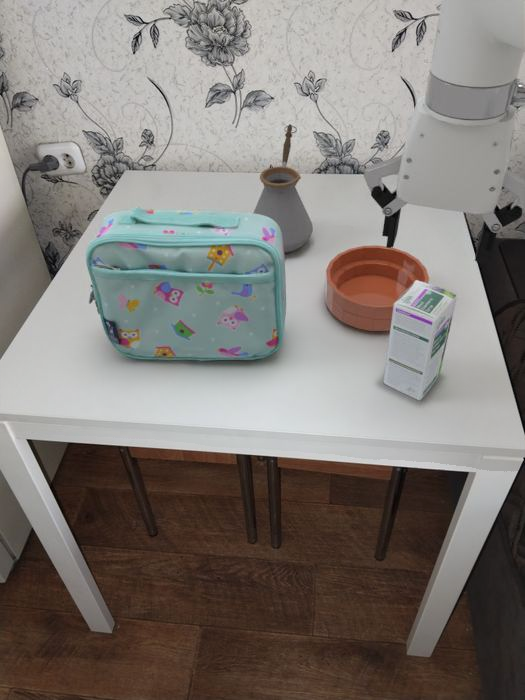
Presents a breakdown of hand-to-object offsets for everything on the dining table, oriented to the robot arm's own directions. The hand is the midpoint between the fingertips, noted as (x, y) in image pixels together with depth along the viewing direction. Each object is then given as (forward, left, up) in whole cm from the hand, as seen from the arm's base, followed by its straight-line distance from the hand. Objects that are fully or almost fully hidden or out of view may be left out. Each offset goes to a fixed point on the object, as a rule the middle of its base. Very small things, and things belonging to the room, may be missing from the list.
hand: (434, 248), depth 66 cm
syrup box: (0, 0, -22) cm, 22 cm away
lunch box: (+31, +2, -22) cm, 38 cm away
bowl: (+8, -15, -22) cm, 27 cm away
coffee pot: (+28, -32, -22) cm, 47 cm away
